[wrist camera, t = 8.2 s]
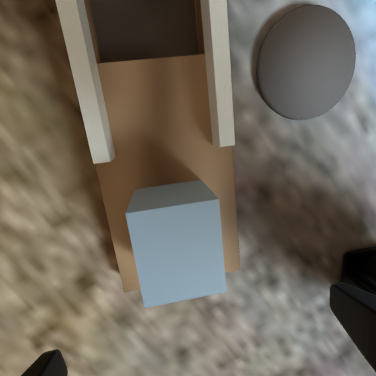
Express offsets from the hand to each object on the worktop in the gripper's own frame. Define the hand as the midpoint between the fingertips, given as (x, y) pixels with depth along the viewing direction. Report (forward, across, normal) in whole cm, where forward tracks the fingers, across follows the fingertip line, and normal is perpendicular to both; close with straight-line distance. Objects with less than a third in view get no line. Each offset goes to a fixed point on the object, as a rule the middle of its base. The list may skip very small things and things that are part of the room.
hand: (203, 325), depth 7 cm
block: (+10, 0, +1) cm, 10 cm away
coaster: (+12, -12, -9) cm, 20 cm away
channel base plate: (+12, 0, -6) cm, 14 cm away
